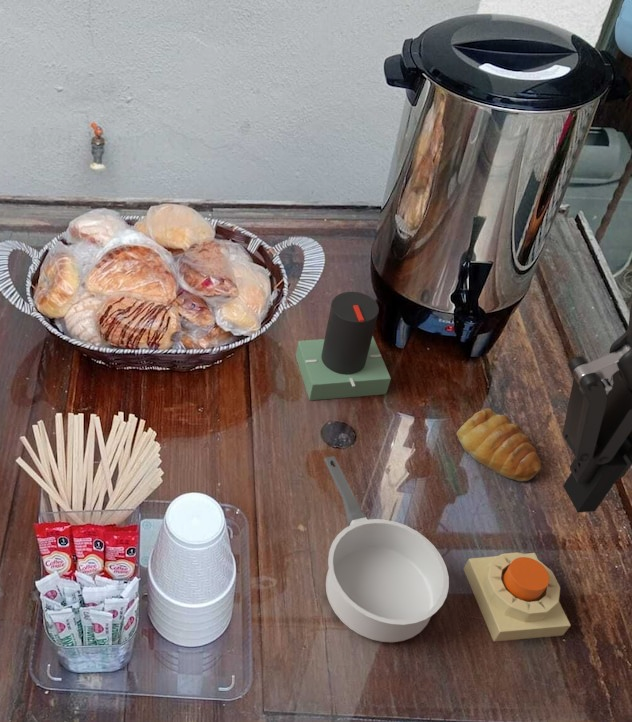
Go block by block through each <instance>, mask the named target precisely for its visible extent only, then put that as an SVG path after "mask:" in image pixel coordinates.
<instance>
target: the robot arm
mask: <svg viewBox="0 0 632 722" xmlns="http://www.w3.org/2000/svg"><path fill="white" fill-rule="evenodd" d="M614 27H615V28H614V39H615V43H616V45H617V47H618V49H619V50H620V51H621V52H622V53H623V54H624V55H626V56H627V57H629V58H632V0H624V1H623V2H622V4H621V9H620V11H619V15H618V17H617V18H616V22H615V26H614ZM628 316H629V317H628V325H627V329H626V331H625V332H624V333H623V334H622V335H620V337H618V338H616V340H614V341H613V342H612V344H611V345H610V347H609V351H608V352H609V353H608V354H606V355H602V356H601V357H598V358H596V359H593V360H592V361H590V362H589V361H588V360H587V358H586V357H585V356H582V355H580V356H575V357H573V358H571V359H570V360H569V362H568V363H567V367H568V369H569V371H570V374H571V375H572V379H573V380H572V384H571V389H570V394H569V400H568V405H567V410H566V415H565V420H564V425H563V428H562V437H563V439H564V441H565V442H566V445H567V446H568V447H569V449H570V450H571V452H572V454H573V456H574V459H573V461H572V462H571V464H570V465H569V471H570V474H569V475H568V477H567V478H566V481H565V482H564V483H563V484H562V488H563V489H564V491H565V493H566V494H567V496H568V498H569V500H570V501H571V503H572V505H573V507H574V508H575V511H576V512H577V513H589V512H596V511H597V509H598V508H599V507H600V505H601V503H602V502H604V499H605V498H606V496H608V493H609V492H610V490H611V489H613V486H614V485H615V483H616V482H617V481H620V480H621V479H622V478H623V477H625V475H626V474H627V472H628V471H629V469H630V468H631V467H632V303H631V304H630V308H629V315H628ZM611 382H612V384H611Z"/></svg>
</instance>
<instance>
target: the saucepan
mask: <svg viewBox="0 0 632 722" xmlns="http://www.w3.org/2000/svg"><path fill="white" fill-rule="evenodd" d="M323 462H324V463H325V465H326V468H327V470H328V472H329V474H330V476H331V479H332V480H333V482H334V484H335V487H336V489H337V491H338V493H339V495H340V498H341V499H342V503H343V508H344V513H345V514H344V515H345V522H346V524H347V526H346V527H345V528H343V529H342V530H341V531H340V532H339V533H338V534H336V536H335V538H334V539H333V541H332V543H331V545H330V548H329V550H328V558H327V565H328V569H327V573H326V577H325V590H326V597H327V600H328V603H329V605H330V607H331V608H332V610H333V612H334V613H335V615H336V616H337V617H338V619H339V620H340V621H341V622H342V623H343V624H344V625H345V626H346V627H348V628H349V629H350V630H352V632H355V633H357V634H358V635H360V636H362V637H364V638H366V639H369V640H372V641H377V642H381V643H398V642H403V641H407V640H410V639H413V638H414V637H415V636H417V635H418V634H420V633H421V632H422V631H423V630H424V629H425V628H426V627H427V626H428V624H429V622H430V620H431V618H432V616H433V615H435V614H436V613H437V612H438V611H439V610H440V609H441V608H442V606H443V605H444V603H445V601H446V599H447V597H448V592H449V588H450V586H449V585H450V577H449V576H450V575H449V572H448V568H447V565H446V562H445V561H444V559H443V556H442V554H441V553H440V552H439V550H438V549H437V548H436V546H435V545H434V544H433V543H432V542H431V541H430V540H429V539H428V538H427V537H425V535H423V534H422V533H420V532H419V531H417V530H416V529H414V528H412V527H410V526H408V525H406V524H403V523H400V522H397V521H395V520H388V519H382V518H381V519H380V518H370V519H368V516H367V514H366V513H365V512H364V511H363V510H362V507H361V505H360V503H359V501H358V499H357V497H356V496H355V494H354V492H353V490H352V488H351V486H350V484H349V482H348V481H347V478H346V476H345V474H344V471H342V469H341V466H340V465H339V463H338V460H337V459H336V457H335V455H331V456H327V457H325V458H324V459H323Z"/></svg>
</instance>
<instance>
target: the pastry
mask: <svg viewBox="0 0 632 722" xmlns="http://www.w3.org/2000/svg"><path fill="white" fill-rule="evenodd" d="M456 436H457V439H458V442H459V443H460V445H461V447H462V449H463V450H464V451H465V452H467V454H468V455H470V456H471V458H472V459H474V460H475V461H477V462H478V463H479V464H481V465H483V466H485V467H486V468H487V469H490V470H491V471H493V472H494V473H496V474H498V475H500V476H502V477H504V478H506V479H510V480H514V481H517V482H528V481H530V480H531V479H533V478H534V477H535V476H536V475H537V474H538V473H539V472H540V471H541V470H542V465H541V458H540V457H539V456H538V454H537V449H536V447H535V446H533V445H532V444H531V442H530V439H529V437H528V435H525V434H524V433H523V431H522V429H521V428H520V427H519V425H517V424H516V423H511V419H510V418H509V417H508V416H507V415H505V414H497V413H496V412H495V411H493V410H492V408H488V407H486V408H484V409H481V410H478V411H477V412H475V413H474V414H473V415H472V416H471V417H470V418H468V419H467V420H466V421H465V422H464V424H462V425H461V426H460V427H459V429H458V430H457V431H456Z"/></svg>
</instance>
